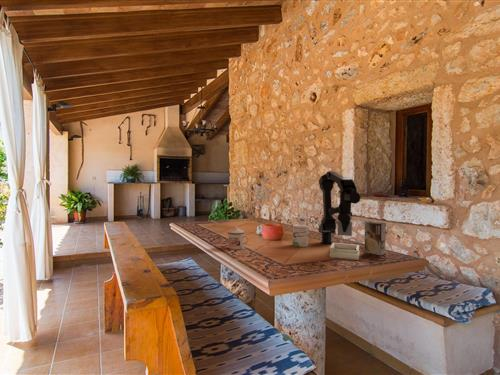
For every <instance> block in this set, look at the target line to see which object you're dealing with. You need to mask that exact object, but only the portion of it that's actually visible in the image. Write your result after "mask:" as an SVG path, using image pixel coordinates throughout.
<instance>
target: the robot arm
mask: <svg viewBox="0 0 500 375" xmlns="http://www.w3.org/2000/svg"><path fill="white" fill-rule="evenodd" d="M334 184H337V185H336V186H337V187H338V188H339V191H338V194H339V204H338V206H332V190H333V189H334V186H335V185H334ZM318 185H319V189H320V190H321V191H322V201H323V202H322V206H323V207H322V208H323V210H322V212H323V216H322V218H321V221H320V224H319V226H318V229H317V230H318V233H320V234H321V241H320V242H319V243H320V244H326V245H328V244H329V245H332V244H333V243H334V242H333V241H332V236H333V235H332V234H335V233H336V229H337V224H336V219H337V221H340V222H341V223H342V228H343V232H346V230H347V228H348V225H349V223H350V220H351V221H352V219H353V218H352V217H353V212H352V204H355V205H357V204H358V203H359V202H361V195H360V193H359V192H358V189H357V187H356V186H357V185H356V184H355V181H354V180H353V178H351V177H344V176H343V175H341V174H340V173H338V172H336V171H333V170H332V171H329V170H328V171H327V172H326V173H325V174H323V175H321V176H320V178H319V180H318ZM336 214H338V215H337V216H336V217H337V218H334V217H333V215H336Z"/></svg>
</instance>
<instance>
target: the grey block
mask: <svg viewBox="0 0 500 375" xmlns="http://www.w3.org/2000/svg"><path fill="white" fill-rule="evenodd" d="M352 235H353V220H352V219H351V220H350V223H349V225H348V228H347V230H346V232H343V228H342V223H341V222H340V221H339V220H337V236H347V237H352Z"/></svg>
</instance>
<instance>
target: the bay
mask: <svg viewBox="0 0 500 375" xmlns="http://www.w3.org/2000/svg"><path fill="white" fill-rule="evenodd" d="M332 248H337V249H348V250H355V249H356V250H360V244H351V243H340V242H332V244H330V247H329V252H330V251H331V249H332Z"/></svg>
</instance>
